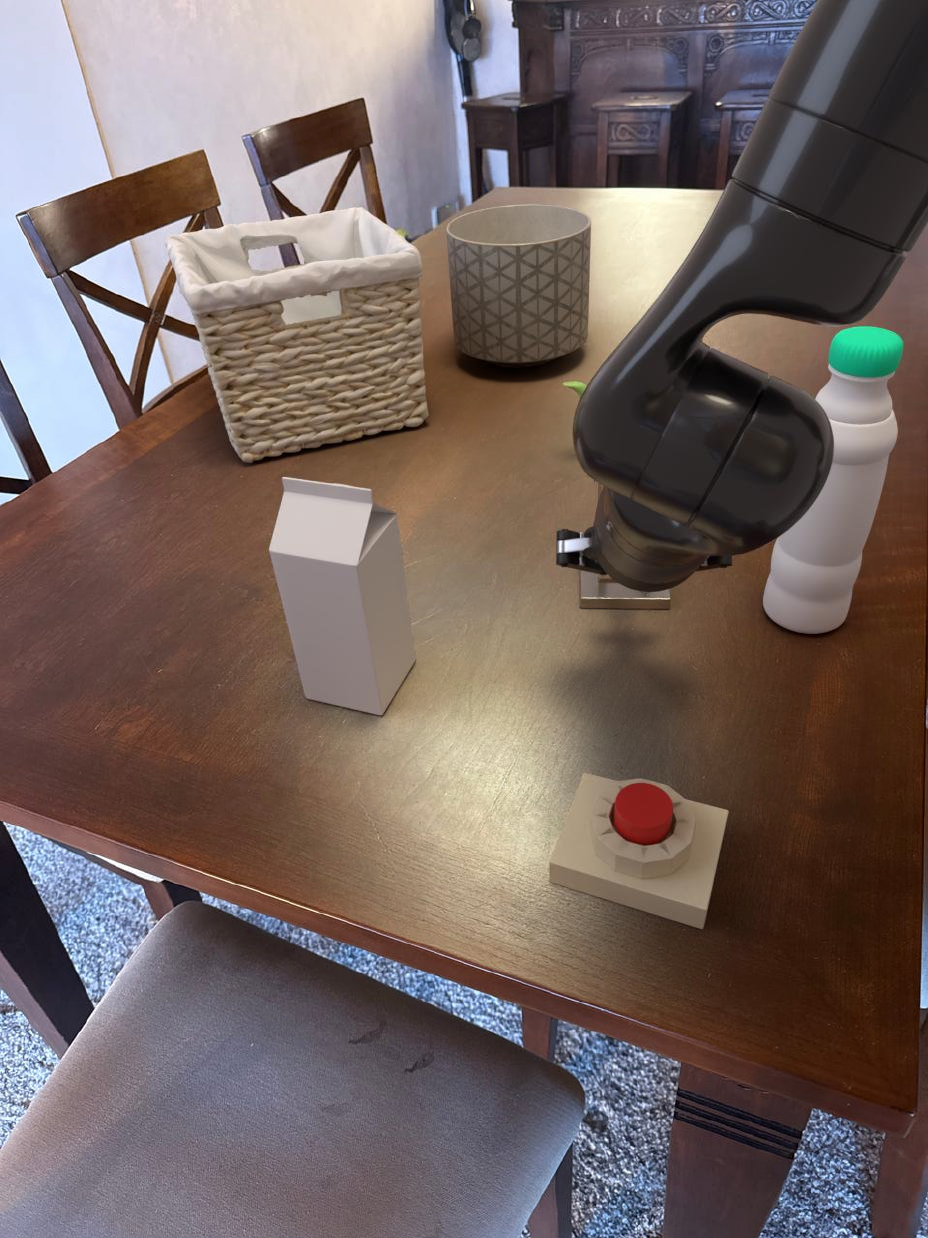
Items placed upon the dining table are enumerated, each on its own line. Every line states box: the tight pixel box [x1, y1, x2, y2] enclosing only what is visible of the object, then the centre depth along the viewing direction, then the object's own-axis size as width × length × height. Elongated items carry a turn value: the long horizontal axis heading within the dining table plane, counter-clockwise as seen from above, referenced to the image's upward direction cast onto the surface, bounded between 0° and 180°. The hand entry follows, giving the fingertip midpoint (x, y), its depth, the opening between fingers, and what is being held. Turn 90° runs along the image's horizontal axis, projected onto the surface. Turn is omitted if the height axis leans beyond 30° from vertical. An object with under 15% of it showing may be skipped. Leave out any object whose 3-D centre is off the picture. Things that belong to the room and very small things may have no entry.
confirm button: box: [614, 783, 673, 845], centre depth 55 cm, size 4×4×2 cm
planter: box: [445, 203, 592, 369], centre depth 119 cm, size 19×19×18 cm
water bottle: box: [762, 325, 904, 635], centre depth 69 cm, size 7×7×25 cm
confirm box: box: [548, 772, 730, 930], centre depth 57 cm, size 10×8×4 cm
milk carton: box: [268, 476, 417, 716], centre depth 67 cm, size 7×7×19 cm
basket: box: [164, 206, 430, 464], centre depth 109 cm, size 27×27×22 cm
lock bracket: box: [579, 480, 672, 610], centre depth 78 cm, size 10×8×13 cm
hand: (632, 568), depth 70 cm, fingers closed
